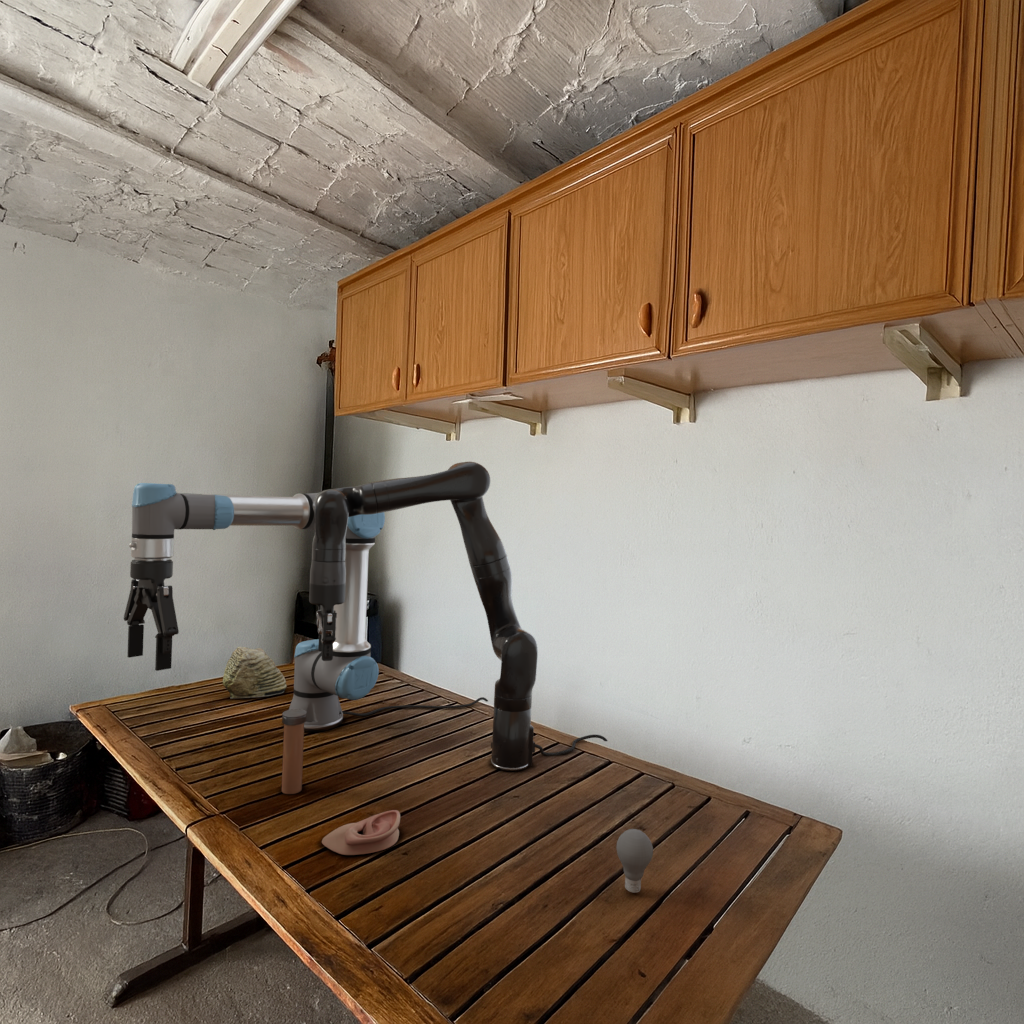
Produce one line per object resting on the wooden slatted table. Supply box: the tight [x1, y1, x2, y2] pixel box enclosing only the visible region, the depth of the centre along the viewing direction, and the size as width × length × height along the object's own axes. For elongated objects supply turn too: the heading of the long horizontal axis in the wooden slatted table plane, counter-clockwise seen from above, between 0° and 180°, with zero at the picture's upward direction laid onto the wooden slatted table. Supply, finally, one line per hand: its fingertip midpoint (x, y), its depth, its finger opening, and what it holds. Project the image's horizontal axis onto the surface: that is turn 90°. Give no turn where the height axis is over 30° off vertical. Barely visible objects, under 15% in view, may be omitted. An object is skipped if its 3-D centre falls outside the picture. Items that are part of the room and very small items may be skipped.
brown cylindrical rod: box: [281, 723, 305, 795], centre depth 136 cm, size 4×4×16 cm
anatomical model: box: [321, 809, 401, 856], centre depth 118 cm, size 13×4×12 cm
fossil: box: [222, 646, 288, 699], centre depth 198 cm, size 9×18×15 cm, turn 132°
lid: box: [281, 709, 307, 725], centre depth 136 cm, size 5×5×2 cm
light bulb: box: [615, 828, 654, 894], centre depth 106 cm, size 6×6×10 cm
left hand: (148, 662), depth 129 cm, fingers open, 13 cm apart
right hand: (325, 655), depth 138 cm, fingers open, 8 cm apart
